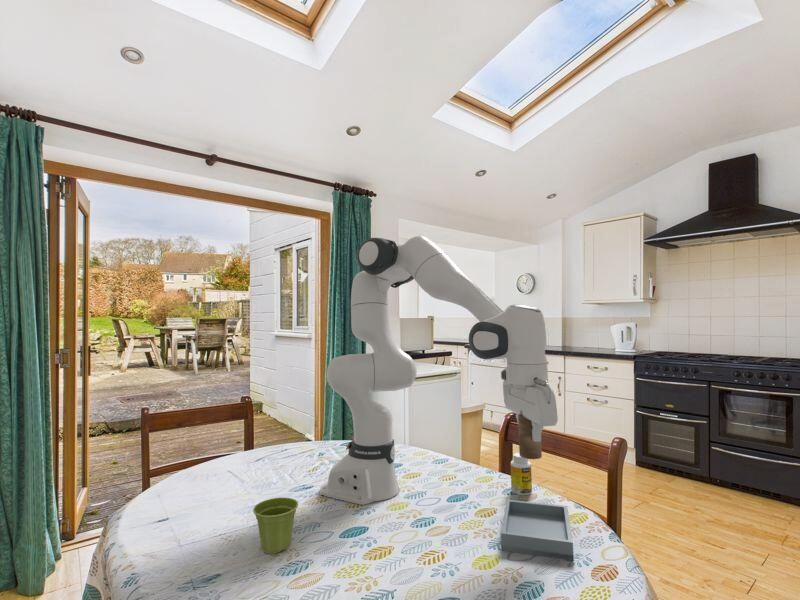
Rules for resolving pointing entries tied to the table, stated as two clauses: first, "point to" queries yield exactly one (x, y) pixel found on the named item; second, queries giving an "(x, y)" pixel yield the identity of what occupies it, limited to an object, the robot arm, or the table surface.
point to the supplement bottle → (521, 475)
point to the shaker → (527, 440)
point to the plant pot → (275, 523)
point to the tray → (537, 529)
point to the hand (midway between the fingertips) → (529, 437)
